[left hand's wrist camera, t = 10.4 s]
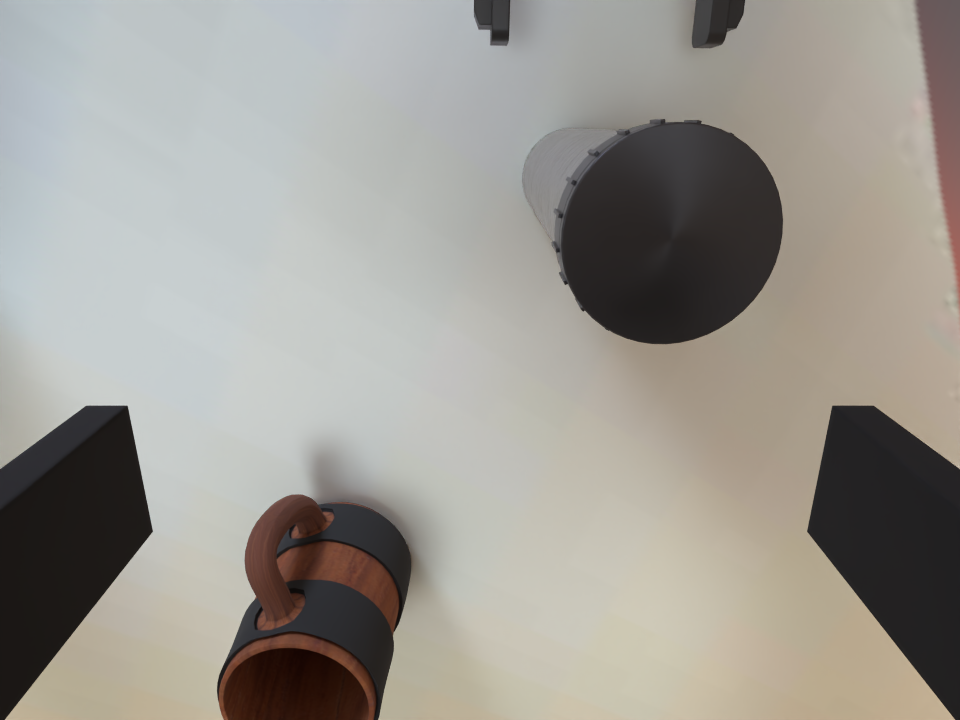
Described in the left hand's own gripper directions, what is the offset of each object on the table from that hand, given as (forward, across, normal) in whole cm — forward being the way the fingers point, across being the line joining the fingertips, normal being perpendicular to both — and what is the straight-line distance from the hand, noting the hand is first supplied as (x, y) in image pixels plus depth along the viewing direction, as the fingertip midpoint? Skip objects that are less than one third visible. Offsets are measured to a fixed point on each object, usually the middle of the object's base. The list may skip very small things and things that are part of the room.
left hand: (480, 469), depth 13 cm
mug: (+24, -9, -18) cm, 31 cm away
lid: (+5, +5, +4) cm, 8 cm away
